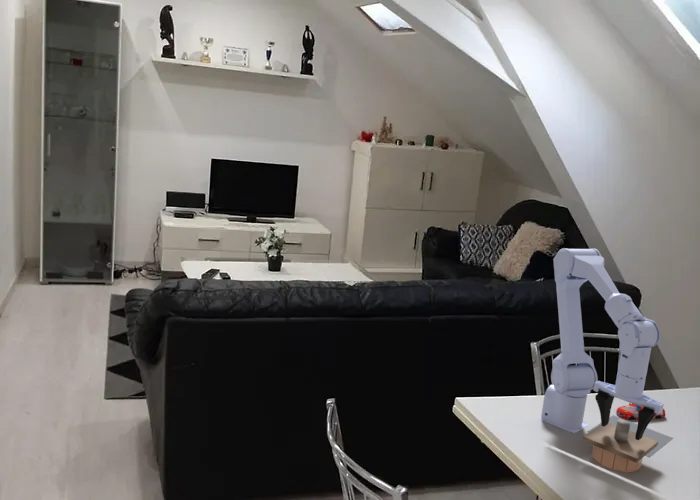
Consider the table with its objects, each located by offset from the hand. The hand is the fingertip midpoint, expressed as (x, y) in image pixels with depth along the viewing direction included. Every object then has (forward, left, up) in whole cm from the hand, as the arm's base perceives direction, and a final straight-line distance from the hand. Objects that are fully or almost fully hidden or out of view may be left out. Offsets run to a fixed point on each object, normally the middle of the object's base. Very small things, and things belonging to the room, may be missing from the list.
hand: (621, 431), depth 148 cm
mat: (-3, +15, -7) cm, 17 cm away
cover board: (0, 0, -3) cm, 3 cm away
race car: (-6, +29, -8) cm, 31 cm away
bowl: (0, 0, -7) cm, 7 cm away
